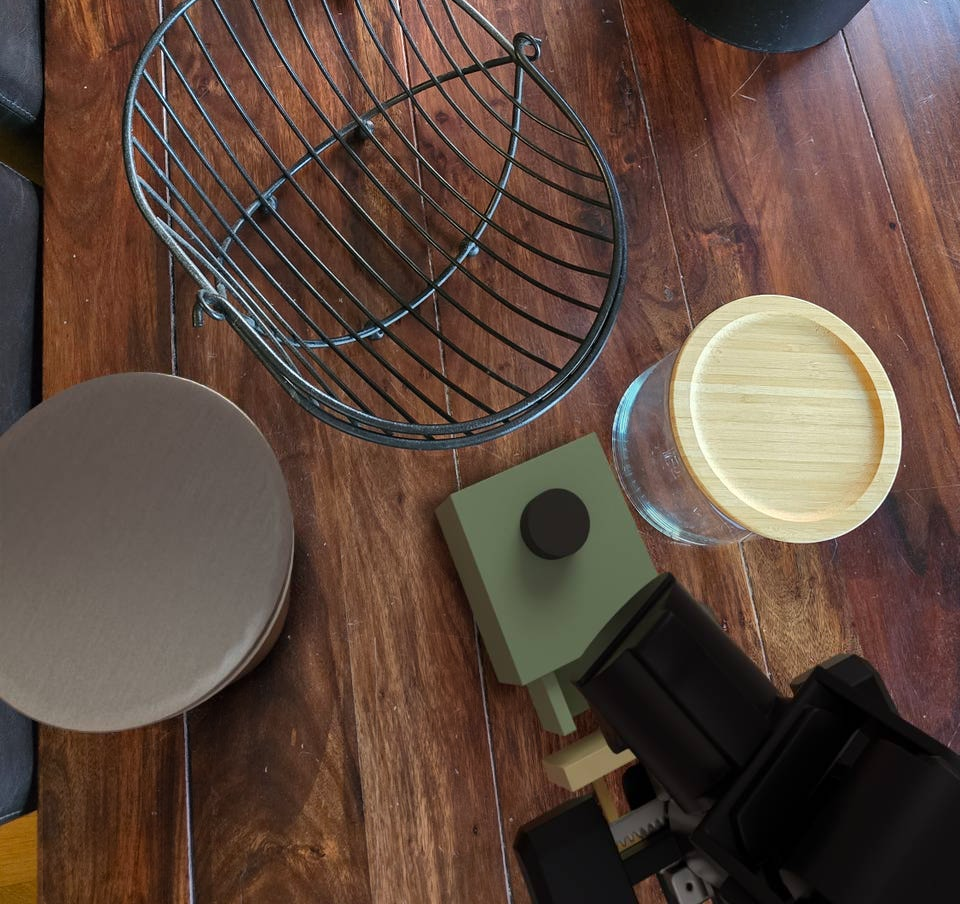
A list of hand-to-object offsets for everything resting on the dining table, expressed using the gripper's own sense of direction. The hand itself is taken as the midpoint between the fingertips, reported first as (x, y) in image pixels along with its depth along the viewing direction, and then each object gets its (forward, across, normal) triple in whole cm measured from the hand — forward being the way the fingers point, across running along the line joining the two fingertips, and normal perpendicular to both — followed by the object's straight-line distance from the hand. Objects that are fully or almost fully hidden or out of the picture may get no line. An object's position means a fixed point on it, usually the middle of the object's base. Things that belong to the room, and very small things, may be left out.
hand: (669, 789), depth 59 cm
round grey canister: (+11, +19, -18) cm, 29 cm away
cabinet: (+11, 0, -12) cm, 16 cm away
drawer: (+10, 0, -4) cm, 11 cm away
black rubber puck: (+3, 0, -14) cm, 14 cm away
